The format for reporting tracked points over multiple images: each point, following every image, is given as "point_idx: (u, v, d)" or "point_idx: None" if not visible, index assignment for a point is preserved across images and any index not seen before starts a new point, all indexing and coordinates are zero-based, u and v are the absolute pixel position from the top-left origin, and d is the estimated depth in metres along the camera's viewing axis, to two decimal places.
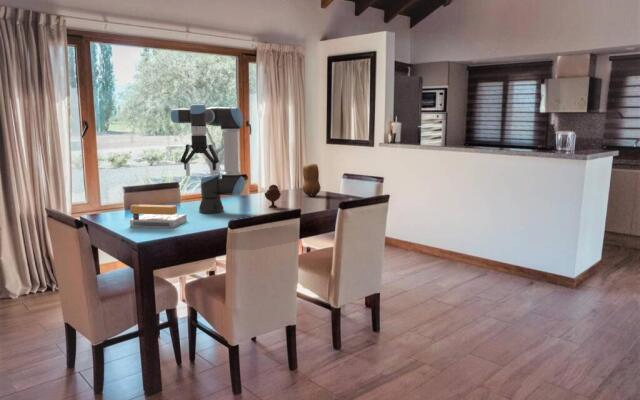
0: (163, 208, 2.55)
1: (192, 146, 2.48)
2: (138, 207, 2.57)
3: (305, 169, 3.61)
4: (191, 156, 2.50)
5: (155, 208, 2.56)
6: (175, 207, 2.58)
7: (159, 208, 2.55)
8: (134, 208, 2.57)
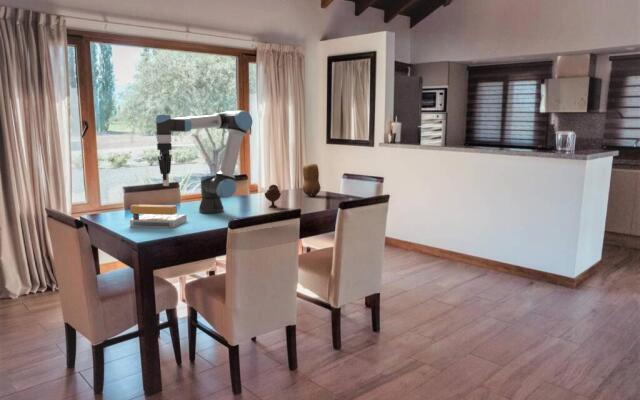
0: (163, 208, 2.55)
1: None
2: (138, 207, 2.57)
3: (305, 169, 3.61)
4: None
5: (155, 208, 2.56)
6: (175, 207, 2.58)
7: (159, 208, 2.55)
8: (134, 208, 2.57)
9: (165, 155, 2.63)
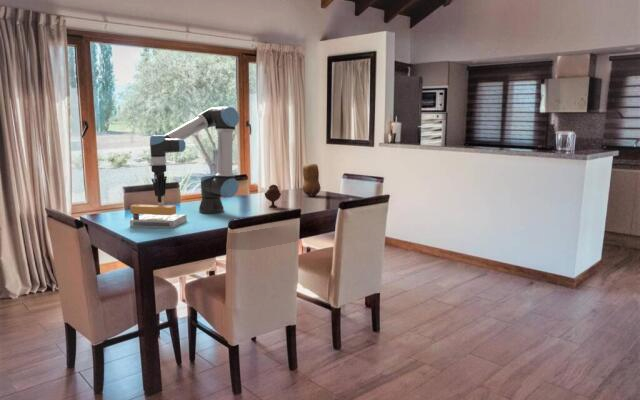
0: (162, 208, 2.54)
1: None
2: (137, 207, 2.56)
3: (305, 169, 3.61)
4: None
5: (154, 208, 2.55)
6: (174, 207, 2.57)
7: (158, 208, 2.54)
8: (134, 208, 2.57)
9: (160, 177, 2.57)
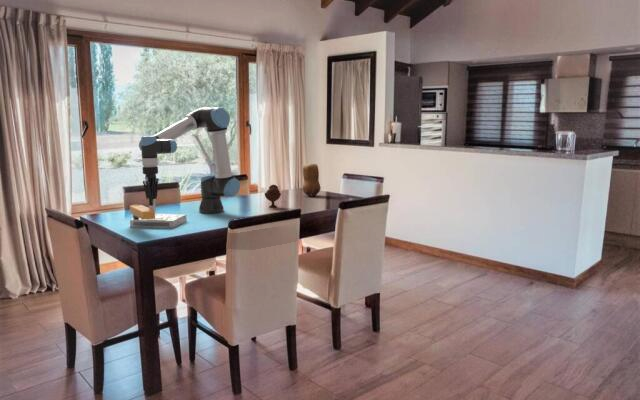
0: (139, 212, 2.45)
1: None
2: (131, 207, 2.56)
3: (305, 169, 3.61)
4: None
5: (137, 210, 2.48)
6: (151, 212, 2.44)
7: (138, 211, 2.46)
8: (130, 208, 2.58)
9: (151, 179, 2.47)
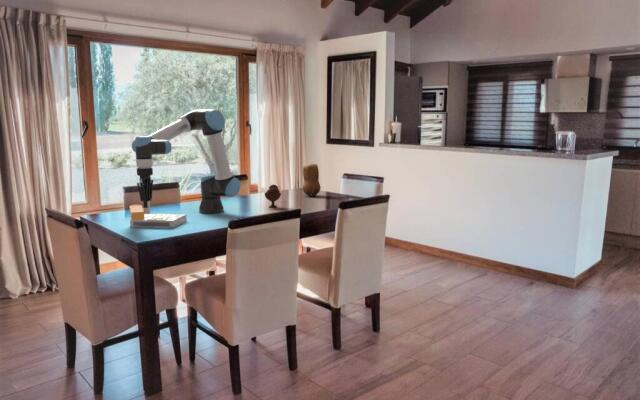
0: (130, 212, 2.43)
1: None
2: None
3: (305, 169, 3.61)
4: None
5: (130, 211, 2.47)
6: (140, 213, 2.41)
7: (130, 211, 2.45)
8: None
9: (145, 181, 2.41)
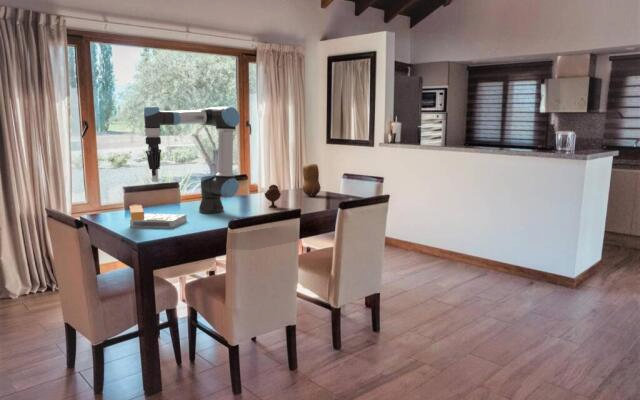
0: (130, 212, 2.43)
1: None
2: None
3: (305, 169, 3.61)
4: None
5: (130, 211, 2.47)
6: (140, 213, 2.41)
7: (130, 211, 2.45)
8: None
9: (154, 149, 2.52)
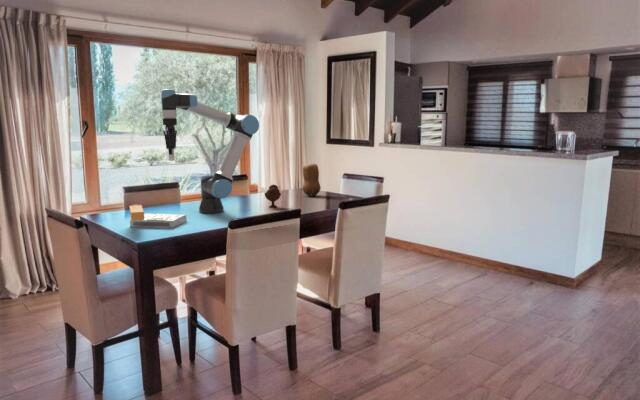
0: (130, 212, 2.43)
1: None
2: None
3: (305, 169, 3.61)
4: None
5: (130, 211, 2.47)
6: (140, 213, 2.41)
7: (130, 211, 2.45)
8: None
9: (171, 130, 2.68)
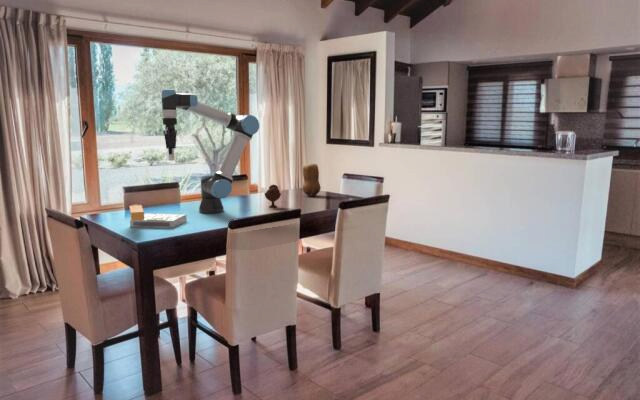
0: (130, 212, 2.43)
1: None
2: None
3: (305, 169, 3.61)
4: None
5: (130, 211, 2.47)
6: (140, 213, 2.41)
7: (130, 211, 2.45)
8: None
9: (171, 130, 2.69)
